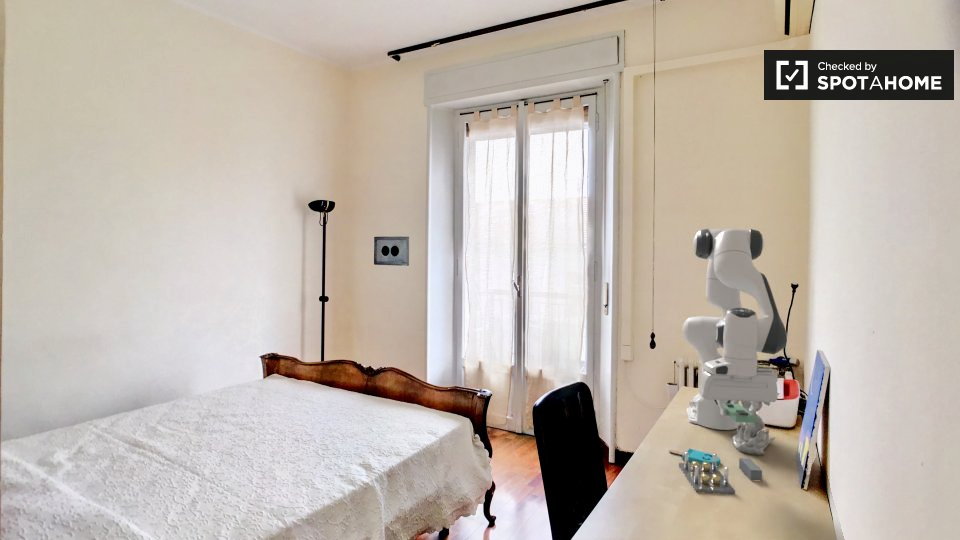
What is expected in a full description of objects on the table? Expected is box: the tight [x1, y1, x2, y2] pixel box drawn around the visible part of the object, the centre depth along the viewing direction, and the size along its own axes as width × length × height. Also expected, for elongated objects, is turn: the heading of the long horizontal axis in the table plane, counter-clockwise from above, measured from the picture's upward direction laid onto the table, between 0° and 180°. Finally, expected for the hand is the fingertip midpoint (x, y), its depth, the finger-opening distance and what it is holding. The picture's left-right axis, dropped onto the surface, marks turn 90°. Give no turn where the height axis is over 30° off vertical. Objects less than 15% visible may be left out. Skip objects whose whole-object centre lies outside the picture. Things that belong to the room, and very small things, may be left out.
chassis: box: [678, 451, 736, 495], centre depth 146 cm, size 16×10×6 cm, turn 175°
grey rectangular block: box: [738, 457, 763, 482], centre depth 150 cm, size 8×3×3 cm, turn 175°
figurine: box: [732, 400, 776, 456], centre depth 170 cm, size 18×13×18 cm
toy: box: [668, 448, 721, 467], centre depth 160 cm, size 7×2×15 cm
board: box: [719, 403, 757, 424], centre depth 147 cm, size 12×6×2 cm, turn 176°
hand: (736, 415), depth 147 cm, fingers closed on board, 5 cm apart
